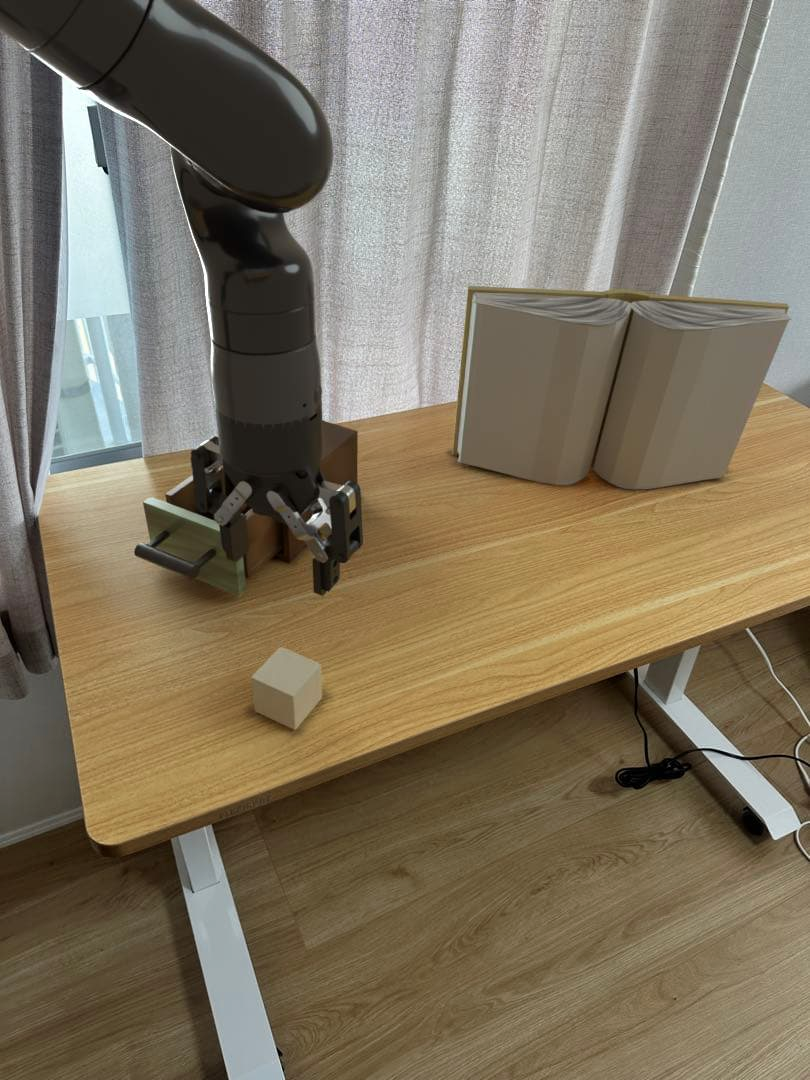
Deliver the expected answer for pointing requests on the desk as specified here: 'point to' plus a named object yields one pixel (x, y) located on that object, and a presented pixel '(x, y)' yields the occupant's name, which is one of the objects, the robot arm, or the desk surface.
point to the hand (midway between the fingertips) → (280, 572)
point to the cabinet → (326, 476)
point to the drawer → (204, 540)
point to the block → (287, 687)
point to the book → (609, 383)
